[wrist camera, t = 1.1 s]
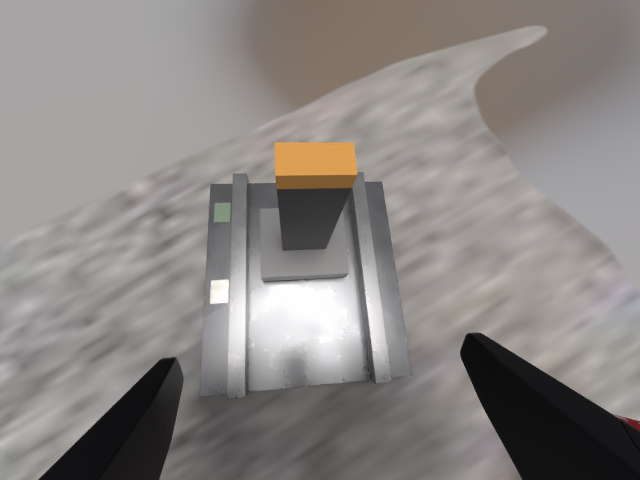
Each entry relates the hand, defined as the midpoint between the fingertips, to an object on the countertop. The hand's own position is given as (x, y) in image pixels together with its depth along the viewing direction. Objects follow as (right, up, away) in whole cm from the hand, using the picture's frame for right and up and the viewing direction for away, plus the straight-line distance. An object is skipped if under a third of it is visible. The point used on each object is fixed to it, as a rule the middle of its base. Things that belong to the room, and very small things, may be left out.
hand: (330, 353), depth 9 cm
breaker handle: (-2, +3, +12) cm, 13 cm away
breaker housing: (-2, 0, +14) cm, 14 cm away
